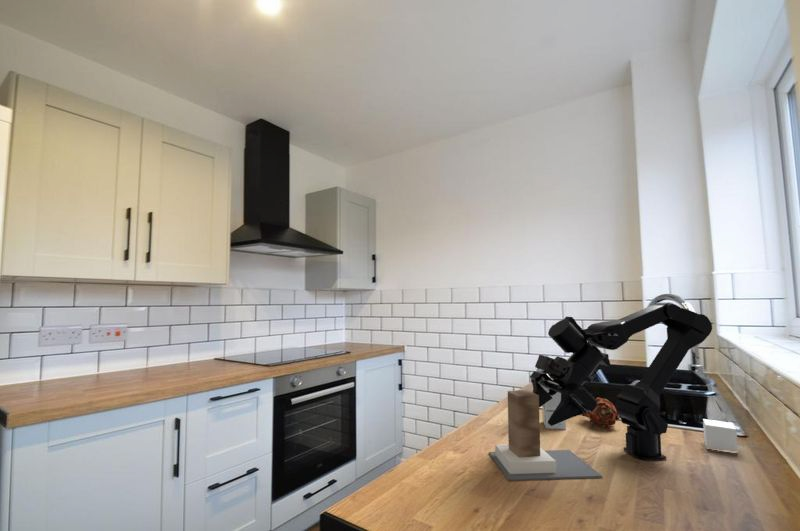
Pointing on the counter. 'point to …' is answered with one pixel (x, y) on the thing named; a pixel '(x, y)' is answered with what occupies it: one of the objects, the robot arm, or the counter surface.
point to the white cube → (720, 435)
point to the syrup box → (550, 408)
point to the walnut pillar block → (523, 423)
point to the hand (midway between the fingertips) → (538, 417)
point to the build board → (562, 468)
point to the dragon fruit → (603, 414)
